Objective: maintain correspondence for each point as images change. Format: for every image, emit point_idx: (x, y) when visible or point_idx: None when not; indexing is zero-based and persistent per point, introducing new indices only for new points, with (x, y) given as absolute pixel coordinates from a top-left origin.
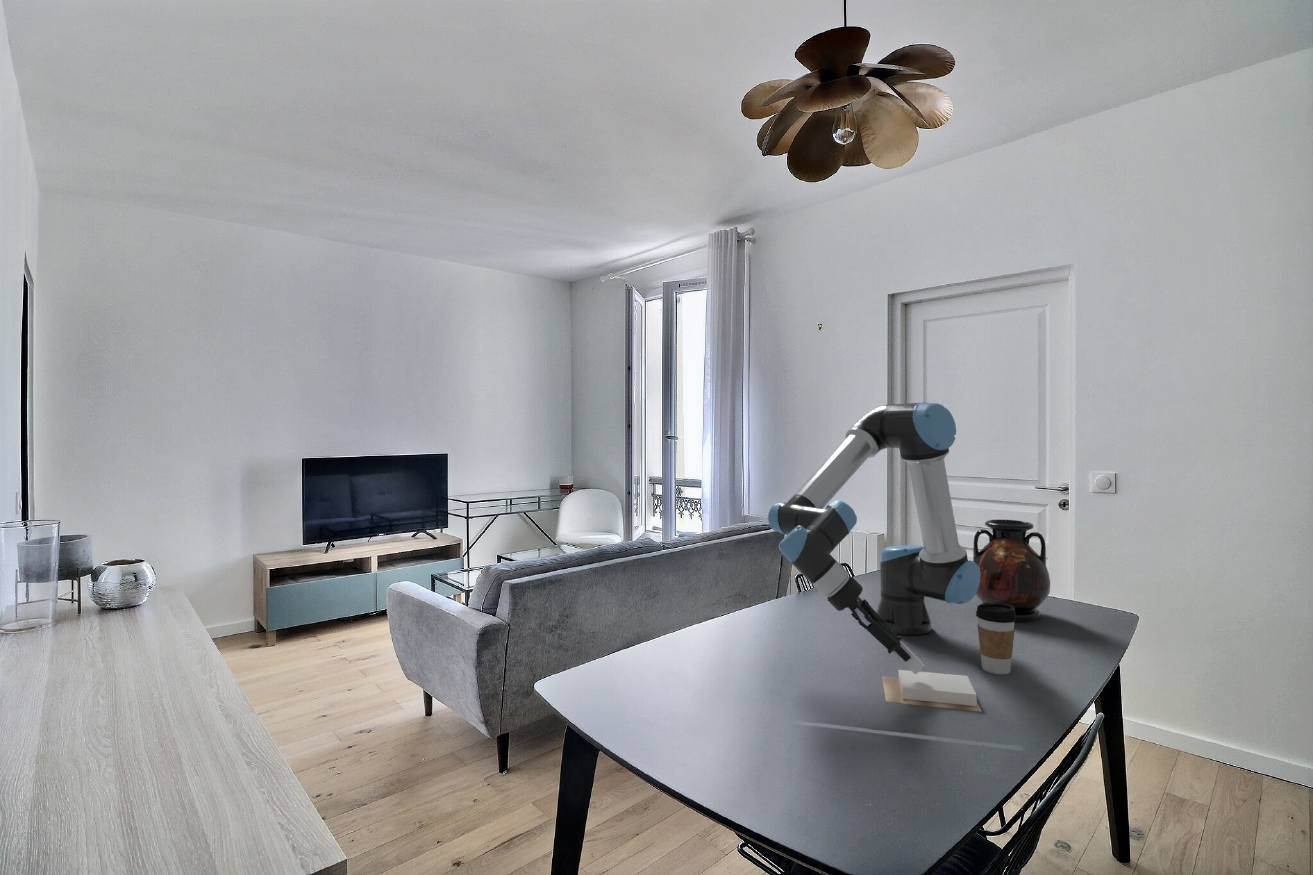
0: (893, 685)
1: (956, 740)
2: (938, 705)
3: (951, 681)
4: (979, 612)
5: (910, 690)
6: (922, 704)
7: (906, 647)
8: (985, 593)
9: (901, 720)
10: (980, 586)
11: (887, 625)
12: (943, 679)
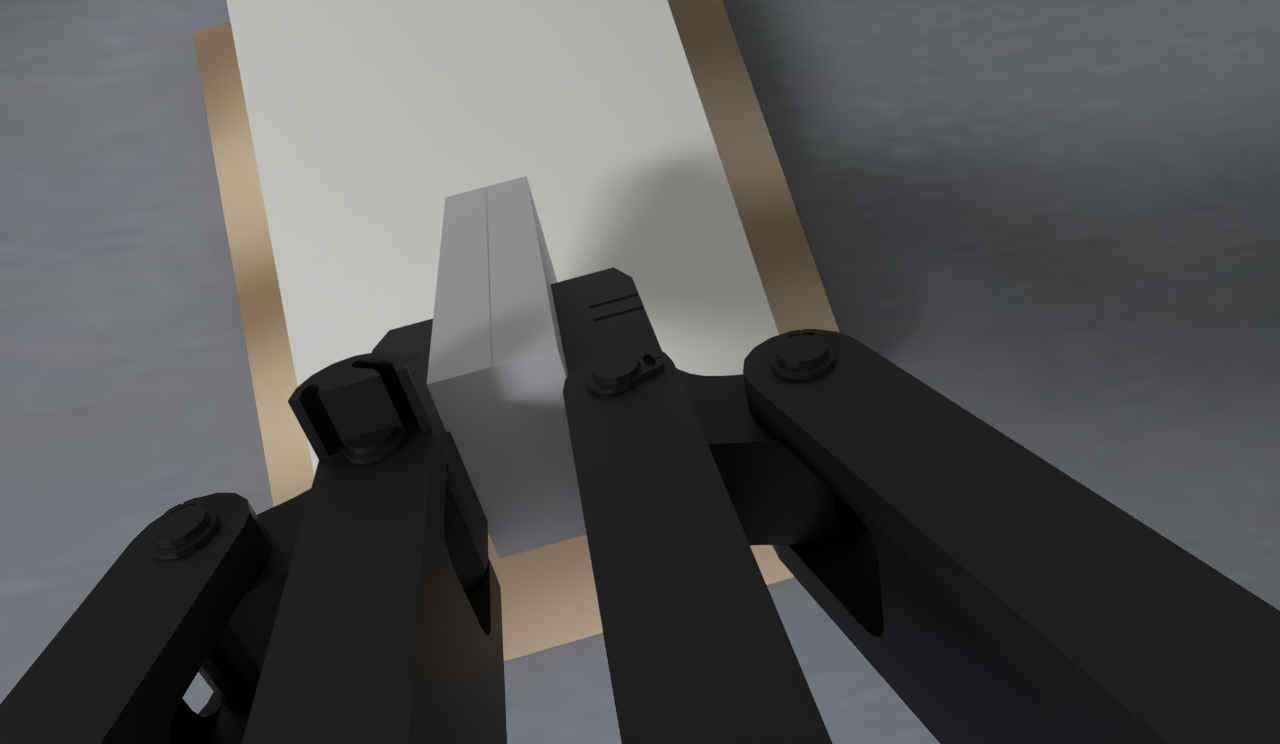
0: (503, 560)
1: (1200, 5)
2: (746, 160)
3: (419, 54)
4: None
5: None
6: (798, 265)
7: (506, 306)
8: None
9: (1132, 368)
10: None
11: (70, 741)
12: (402, 117)
